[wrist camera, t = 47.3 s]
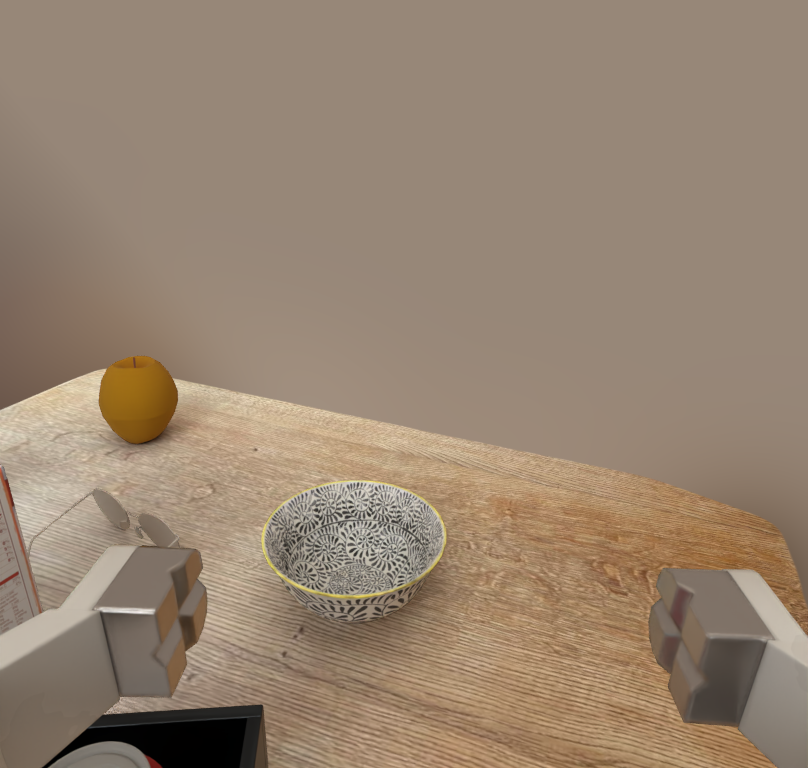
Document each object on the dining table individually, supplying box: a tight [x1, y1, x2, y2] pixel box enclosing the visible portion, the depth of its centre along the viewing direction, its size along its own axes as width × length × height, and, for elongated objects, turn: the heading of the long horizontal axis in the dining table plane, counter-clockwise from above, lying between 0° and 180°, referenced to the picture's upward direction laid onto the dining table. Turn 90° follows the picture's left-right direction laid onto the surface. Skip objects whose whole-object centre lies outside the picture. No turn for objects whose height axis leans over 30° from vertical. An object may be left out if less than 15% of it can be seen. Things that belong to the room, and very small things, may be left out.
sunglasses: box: [27, 488, 180, 557], centre depth 56 cm, size 14×8×5 cm, turn 59°
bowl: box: [262, 480, 447, 623], centre depth 53 cm, size 16×16×8 cm
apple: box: [99, 356, 178, 444], centre depth 78 cm, size 10×10×12 cm
